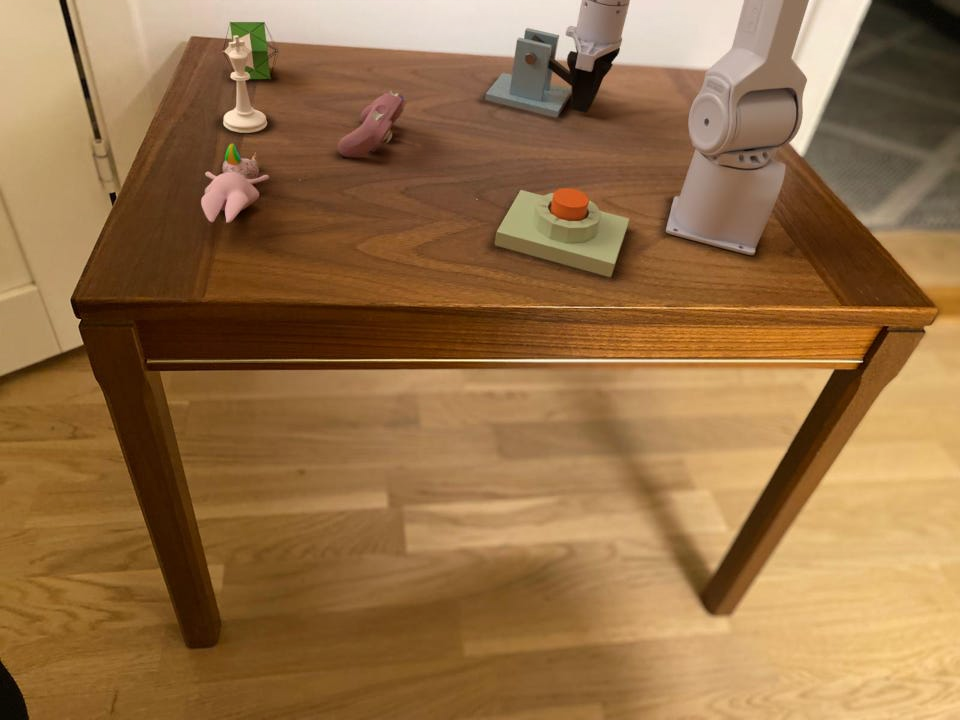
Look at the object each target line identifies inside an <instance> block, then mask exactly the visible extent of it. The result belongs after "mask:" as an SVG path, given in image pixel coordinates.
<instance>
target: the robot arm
mask: <svg viewBox="0 0 960 720" xmlns="http://www.w3.org/2000/svg"><path fill="white" fill-rule="evenodd" d="M630 2H631V0H581V3H580V6H579V13H578V18H577V23H576V26H574V25H569V26H567V28H566V30H565V36H566V37H569V38H572V39H573V42H574V44H575V50H576V51H573V50H570V51H569V52H568V54H567V57H566V63H567V67H568V70H569V71H570V74H571V82H572V86H571V89H572V91H571V109H572V111H577V112H581V113H585V114H587V113H588V112H589V110H590V109H591V106H592V104H593V102H594V100H595V98H597V95H598V92H599V90H600V88H601V85H602V82H603V80H604V78H605V77H606V76H607V74H608V73H610V71H611V69H612V67H613V64H614V63H613V62H614V60H616V58H617V57H618V55H619V54H620V52H621V51H620V50H621V46H622V43H623V37H622V35H623V32H624V27H625V24H626V19H627V14H628V10H629V7H630ZM809 2H810V0H743V3H742V7H741V11H740V13H739V14H740V15H739V18H738V21H737V27H736V30H735V34H734V38H733V42H732V46H731V48H730V49H729V50H728V51H727V52H726V53H725V54H724V55H723V56H721V58H719V60H717V61H716V62H715V63H714V64H713V65H712V66H710V67H709V68H708V69H707V70H706V72H705V75H704V79H703V83H702V86H701V88H700V91H699V92H698V94H697V95H696V97H695V98H694V100H693V102H692V104H691V107H690V109H689V114H688V121H687V124H688V125H687V126H688V127H687V128H688V133H689V137H690V140H691V145H692V147H694V148H695V150H694V153H693V155H692V158H691V161H690V164H689V168H688V171H687V174H686V177H685V179H684V182H683V184H682V188H681V191H680V193H679V195H678V196H677V195H675V196H674V197H673V199H672V200H673V201H672V204H671V208H670V212H669V216H668V219H667V224H666V228H665V232H666V233H667V234H669V235H671V236H675V237H679V238H683V239H687V240H689V241H690V240H691V241H693V242H698V243H701V244H704V245H705V244H706V245H709V246H713V247H716V248H720V249H723V250H728V251H731V252H736V253H740V254H743V255H748V256H754V255H755V254H756V249H757V246H758V244H759V242H760V239H761V237H762V235H763V232H764V230H765V228H766V226H767V224H768V221H769V219H770V217H771V214H772V212H773V210H774V207H775V205H776V203H777V200H778V198H779V195H780V193H781V189H782V187H783V184H784V179H785V176H786V170H787V165H786V164H785V163H783V162H781V161H778V160H776V159H775V157H776V154H777V152H778V149H779V148H782V147H785V146H786V145H788V144H789V143H791V142H792V141H793V140H794V139H795V137H797V134H798V133H799V131H800V128H801V126H802V122H803V117H804V116H803V114H804V109H803V99H804V92H805V88H806V85H807V82H808V78H807V76H806V75H805V73H804V72H803V70H801V68H800V67H799V66H798V65H797V63H796V62H795V60H794V59H793V54H794V51H795V48H796V44H797V41H798V38H799V34H800V31H801V28H802V24H803V21H804V17H805V15H806V12H807V8H808V6H809Z"/></svg>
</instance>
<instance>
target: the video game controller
mask: <svg viewBox="0 0 960 720" xmlns="http://www.w3.org/2000/svg"><path fill="white" fill-rule="evenodd" d="M407 102H408V100H407V98H405V97H404V96H403V95H401V94H399V93H398V92H396V93H395V92H393V91H392V90H391V89H390V90H389V91H388V92H385V93H384V94H383V95H379V96H378V97H377V98H375V99H374V100H373V102H372V103H371V104H369V105H367V106H366V107H365V108H364V109H363V110H362V112H361V114H360V120H361V122H362V124H361V125H360V126H358V128H356V129H354V130H353V131H351V132H349V133H348V134H345V135H344V136H343V137H341V139H340V140H339V141H338V143H337V151H338V153H339V155H341V156H342V157H345V158H357V157H360V156H363V155H365V154H367V153H368V152H370V151H371V152H373V153H375V152H376V150H377V149H378V147H379V146H380V144H381V143H382V142H385V143H386V144H387V143H389V142H390V141H391V139H392V138H393V133H392V130H391V128H392V127H393V125H394V123H395V122H396V121H397V120H398V119H399V118H400V117H401V116H402V114H403V112H404V108H405V106H406V104H407Z"/></svg>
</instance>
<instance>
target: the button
mask: <svg viewBox="0 0 960 720" xmlns="http://www.w3.org/2000/svg"><path fill="white" fill-rule="evenodd" d="M553 193H554V194H553V199H552V203H551V208H550V211H551V213H552V214H553V215H554V216H556V217H557V218H559V219H563V220H567V221H581V220H583V219H584V218H585V216H586V212H587V208H588V204H589V200H590V198H589V197H588V196H587V194H586V193H584V192H583V191H580V190H579V189H574V188H570V187H565V188H564V187H563V188H559V189H556V190H555V191H554V192H553Z"/></svg>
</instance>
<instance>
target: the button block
mask: <svg viewBox="0 0 960 720" xmlns="http://www.w3.org/2000/svg"><path fill="white" fill-rule="evenodd" d="M553 194H554V192H550V193H547V194H545V195H542V194H538V193H535V192H531V191H528V190H527V191H526V190H523V189H520V190H519V192H518V194H517V196H516V197H515V199H514V200H513V203H512V204H511V206H510V208H509V210H508V211H507V213H506V215H505V216H504V218H503V220H502V222H501V223H500V225H499V227H498V228H497V230H496V234H495V239H494V246H496V247H499V248H504V249H507V250H510V251H515V252H518V253H521V254H525V255H529V256H532V257H536V258H540V259H542V260H547V261H550V262H554V263H557V264H561V265H563V266H564V265H565V266H568V267H571V268H576V269H579V270H583V271H586V272H590V273H593V274H596V275H597V274H598V275H601V276H605V277H608V278H612V275H613V272H614V270H615V267H616V263H617V260H618V257H619V254H620V251H621V248H622V245H623V242H624V239H625V235H626V232H627V229H628V225H629V223H630V218H629V217H625V216H622V215H618V214H615V213H610V212H607V211H603V210H600V209H599V207H598V205H597V204H596V203H594V201H591V200H590V199H589V204H588V208H587V212H586V216H585V218H584V219H583V220H581V221H567V220H563V219H559V218H557V217H556V216H554V215H553V214H552V213H551V211H550V208H551V203H552V199H553Z"/></svg>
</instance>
